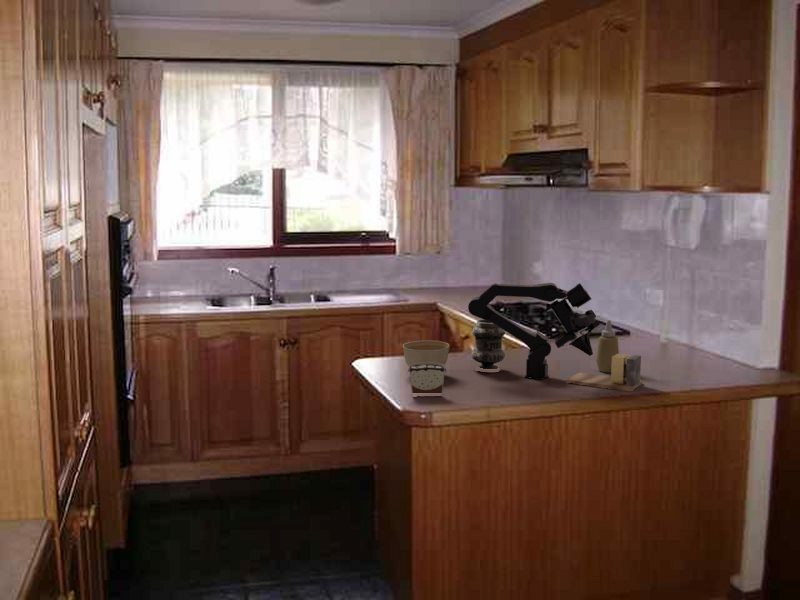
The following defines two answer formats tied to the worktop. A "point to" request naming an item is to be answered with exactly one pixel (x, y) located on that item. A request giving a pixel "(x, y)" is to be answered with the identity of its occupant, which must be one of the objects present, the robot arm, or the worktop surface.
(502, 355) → the apothecary jar
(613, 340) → the squeeze bottle
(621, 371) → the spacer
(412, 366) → the food container
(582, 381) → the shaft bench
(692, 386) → the worktop surface
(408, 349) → the planter bowl
